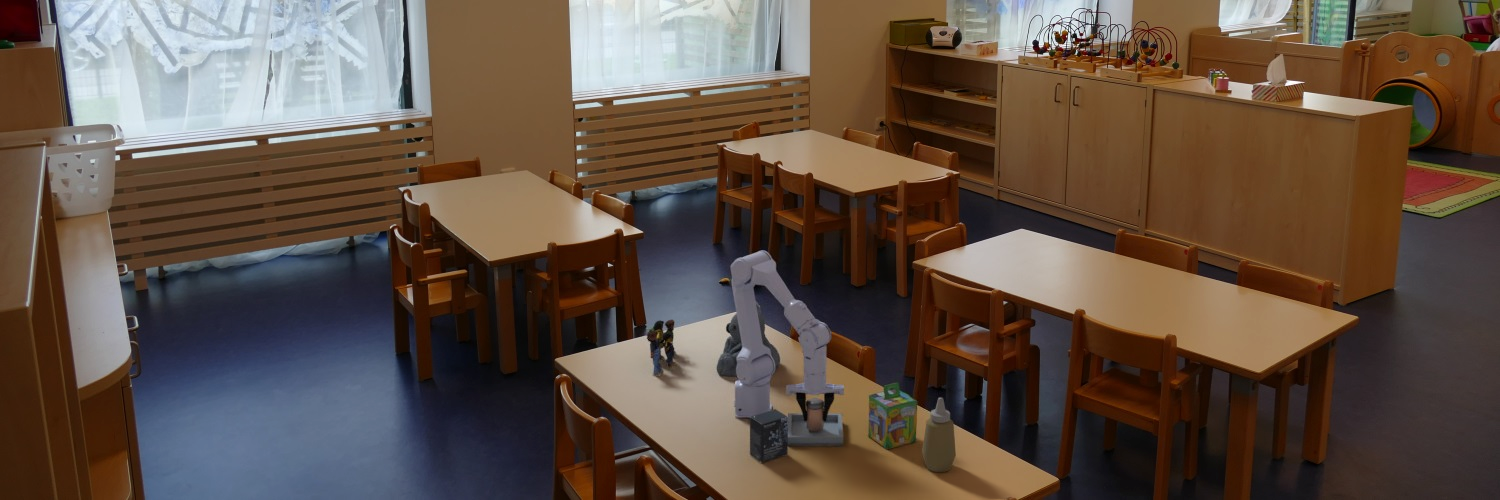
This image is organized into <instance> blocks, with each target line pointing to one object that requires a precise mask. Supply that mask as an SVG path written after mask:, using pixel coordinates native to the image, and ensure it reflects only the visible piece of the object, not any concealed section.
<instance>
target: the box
mask: <svg viewBox="0 0 1500 500" xmlns="http://www.w3.org/2000/svg"><path fill="white" fill-rule="evenodd" d="M788 449H789V446H788V415H785V414H784V413H782V412H781V411H779V410H778V409H776V408H774V409H772V410H771V411H768V412H765V413H761V414H758V415H754V416H750V418H749V455H750V456H752V457H753V458H754V459H755V460H757V461H758V462H759V463H762V464H763V463H765V462H768V461H771V460H775V459H777V458H778V459H779V458H781V457H784V456H788V454H789V453H788V451H789V450H788Z"/></svg>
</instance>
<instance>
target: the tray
mask: <svg viewBox="0 0 1500 500" xmlns="http://www.w3.org/2000/svg"><path fill="white" fill-rule="evenodd" d="M842 416H843V415H842V412H841V413H840V412H839V413H833V412H832V413H831V412H830V413H829V412H828V415H827V419H826V421H824V428H823V429H822V430H819V431H811V430H808V429H807V427H806V421H804V418H803V414H802V412H801V413H799V412H798V413H797V412H795V413H791V412H790V413H787V417H788V447H843V446H844V429H843V417H842Z"/></svg>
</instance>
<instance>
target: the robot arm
mask: <svg viewBox="0 0 1500 500" xmlns="http://www.w3.org/2000/svg"><path fill="white" fill-rule="evenodd" d="M729 267H730V268H729V269H730V274H731V288H732V289H731V290H732V295H733V300H734V301H733V302H734V306H735V311H736V313H737V319H738V325H739V330H740V336H741V342H742V349H741V351H740V353H739V354H738V356H737V358H736V360H737V367H736V374H737V379H738V380H735V383H734V403H733V404H734V408H735V411H734V412H735V413H734V414H735V415H734V416H735V418H748V419H750V416H754V415H758V414H761V413H765V412H768V411H771V410H773V404H772V403H771V394H770V392H771V385H770V383H771V382H770V380H772V375H774V373H775V371H776V369H777V368H776V366H775V361H774V359H773V358H772V355H771V351H770V349H769V348H768V347H766V346H764V345H763V342H762V336H761V330H760V324H759V319H758V313H757V307H756V302H757V301H756V295H755V290H754V287H755V286H756V285H757V286H765V288H766V289H768V291H769V292H770V293H771V294H772V295H773V297H774V298H775V299H776V300H777V301H778V303H780V304H781V306H782V307H783V308H784V311H783V315H784V317H785V318H786V320H787V321H788V322H789V323H790V325H791V327H793V329H794V331H796V333H797V334H798V335H799V336H798V343H799V345H800V348H801V352H802V355H803V382H802V383H796V384H786V385H785V386H786V387H785V389H786V396H790V395H795V399H796V402H797V404H798V406H799V408H800V410H801V413H802V414H803V418H804V421H807V415H806V401H807V399H806V398H807V397H806V396H807V395H810V396H820V395H823V401H824V421H826V419H827V415H828V413H829V411H830V409H831V406H832V405H833V403H834V401H835V395H838V396H844V395H845V392H844V391H845V390H844V384H834V383H829V382H827V344H828V343H830V341H831V340H832V332H831V329H830V328H829V326H828V324H826V323H825V322H822V321H820V320H819V319H817V318H816V317H815V316H814V315H813V314H812V313H811V311H810V309H809V308H808V307H807V304H806V303H804V302H803V301H802V300H798V299H795V297H794V296H793V294H792V293H791V291H790V290H789V288H788V287H787V285H786V283H785V282H784V280H783V279H782V277H781V276H780V274H779V273H778V271H777V262H776V261H775V260H774V259H773V258H772V256H771V254H770V253H769V252H768V251H766V250H758V251H757V252H754V253H751V254H748V255H745V256H743V257H742V256H741V257H738V258H736V259H734V261H733V262H732V263H731V265H730V266H729ZM736 313H735V314H736ZM775 368H776V369H775Z"/></svg>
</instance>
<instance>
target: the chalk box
mask: <svg viewBox="0 0 1500 500" xmlns="http://www.w3.org/2000/svg"><path fill="white" fill-rule="evenodd" d="M917 416H918V401H917V399H914V398H913V397H912V396H910V395H909V394H908V393H906V392H903V391H901V389H900V384H899V382H893V383H890V384H885V385H884V386H883V391H880V392H877V393H873V394H869V395H868V432H867V433H868V437H869V439H870V438H871V439H872V440H873V441H875V442H876V443H878V444H879V445H880V446H882V447H884V448H885V449H886V450H889V449H895V448H898V447H902V446H905V445H909V444H912V443H916V442H917V441H916V440H917V420H918V419H917Z"/></svg>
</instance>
